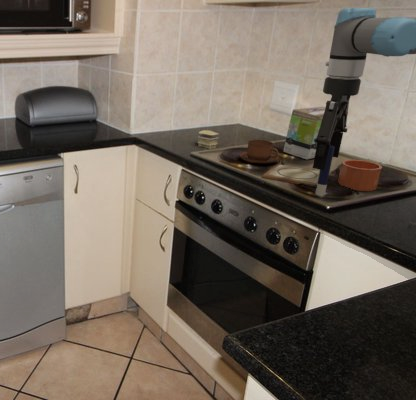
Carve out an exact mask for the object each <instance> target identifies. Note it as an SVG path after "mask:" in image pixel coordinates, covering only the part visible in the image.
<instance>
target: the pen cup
mask: <svg viewBox="0 0 416 400" xmlns="http://www.w3.org/2000/svg"><path fill="white" fill-rule="evenodd" d="M382 170H383V166H382V165H381V164H379V163H376V162H373V161H369V160H363V159H346V160H343V161H341V164H340V169H339V172H338V173H339V174H338V178H337V184H338V183H339V184H341V185H343V186H345V187H349V188H351V189H350V190H352V189H353V190H352V191H359V192H360V191H361V192H372V191H376V190H377V189H378V186H379V182H380V178H381V175H382ZM339 184H338V185H339ZM345 187H344V188H345Z"/></svg>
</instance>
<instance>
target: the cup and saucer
mask: <svg viewBox="0 0 416 400" xmlns="http://www.w3.org/2000/svg"><path fill="white" fill-rule="evenodd" d="M273 151H275V153H273ZM245 155H247V156H248V158H249V159H247V158H244V157H243V156H245ZM238 157H239V158H240V159H241V160H243V161H244V162H248V163H251V164H256V163H257V165H268V164H270V165H271V164H273V163H276V162H278V161H279V159H280V156H279V151H278V149H277V148H275V147H274V142H272V141H269V140H264V139H251V140H248V142H247V150H244V151H240V152H239V153H238ZM270 158H272V161H267V160H269V159H270Z"/></svg>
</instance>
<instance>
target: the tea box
mask: <svg viewBox="0 0 416 400" xmlns="http://www.w3.org/2000/svg"><path fill="white" fill-rule="evenodd" d="M325 108H326V106H313V107H305V108H296V109H295V108H294V109H292V113H291V115H290V120H289V125H288V128H287V133H286V138H285V142H284V146H283V153H286V154H289V155H292V156H295V157H298V158H301V159H305V160H311V159H314V158H315V153H316V148H317V143H316V142H314V139H316V138H317V135H318V132H319V128H320V125H321V122H322V118H323V115H324V112H325ZM348 114H349V113H348ZM348 114H347V117H348ZM341 133H343V134H344V132H341ZM324 138H325V137H324Z"/></svg>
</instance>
